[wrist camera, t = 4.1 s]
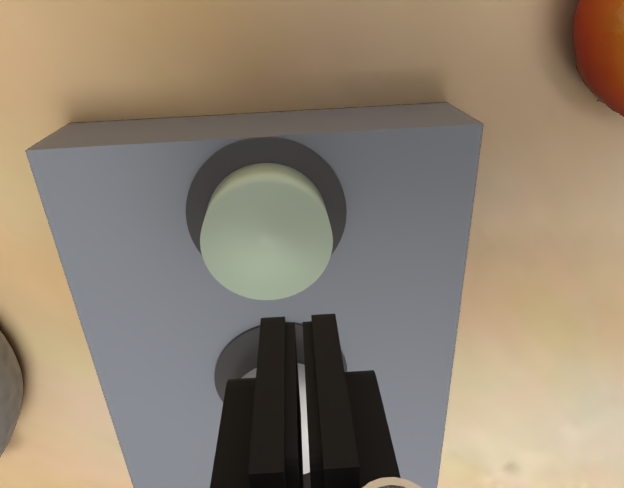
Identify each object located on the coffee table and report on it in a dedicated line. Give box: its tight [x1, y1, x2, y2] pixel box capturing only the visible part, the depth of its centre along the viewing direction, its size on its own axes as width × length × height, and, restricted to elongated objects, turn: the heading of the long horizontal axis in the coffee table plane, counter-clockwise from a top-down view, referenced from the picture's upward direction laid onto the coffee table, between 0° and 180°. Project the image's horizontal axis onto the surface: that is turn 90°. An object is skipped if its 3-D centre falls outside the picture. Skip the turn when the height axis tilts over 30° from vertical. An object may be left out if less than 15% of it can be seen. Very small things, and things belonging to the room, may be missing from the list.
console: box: [25, 102, 483, 488], centre depth 23 cm, size 16×22×4 cm
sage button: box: [200, 163, 333, 300], centre depth 17 cm, size 4×4×2 cm
